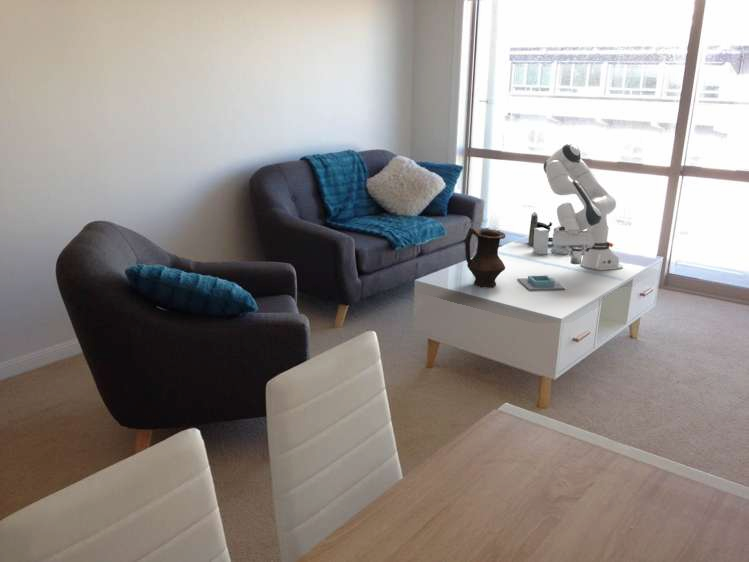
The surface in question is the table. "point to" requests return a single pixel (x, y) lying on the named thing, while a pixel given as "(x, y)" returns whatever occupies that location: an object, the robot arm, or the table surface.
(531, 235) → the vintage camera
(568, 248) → the tea box
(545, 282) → the stand
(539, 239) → the skincare box
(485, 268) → the jug
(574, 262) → the glass jar
